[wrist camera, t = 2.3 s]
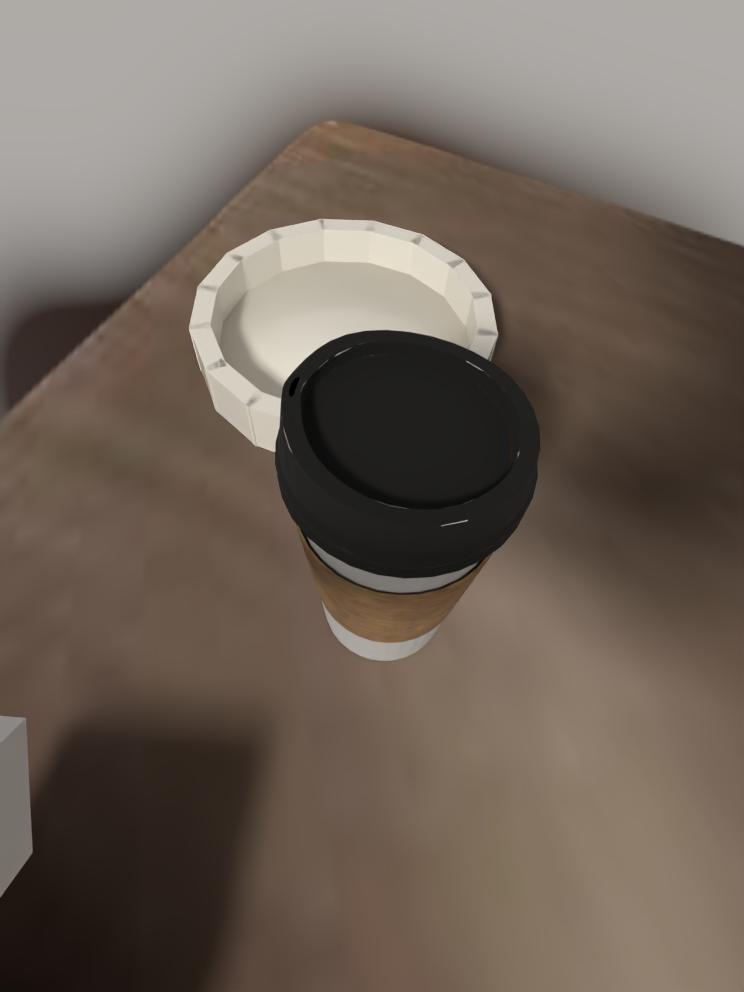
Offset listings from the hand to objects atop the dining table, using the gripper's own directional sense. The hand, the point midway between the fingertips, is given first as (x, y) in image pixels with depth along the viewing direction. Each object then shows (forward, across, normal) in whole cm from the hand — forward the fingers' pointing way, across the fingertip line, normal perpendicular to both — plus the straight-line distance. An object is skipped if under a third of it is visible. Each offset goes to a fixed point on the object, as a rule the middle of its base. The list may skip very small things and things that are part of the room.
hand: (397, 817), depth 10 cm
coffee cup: (+20, 0, -4) cm, 20 cm away
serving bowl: (+32, -4, +8) cm, 33 cm away
